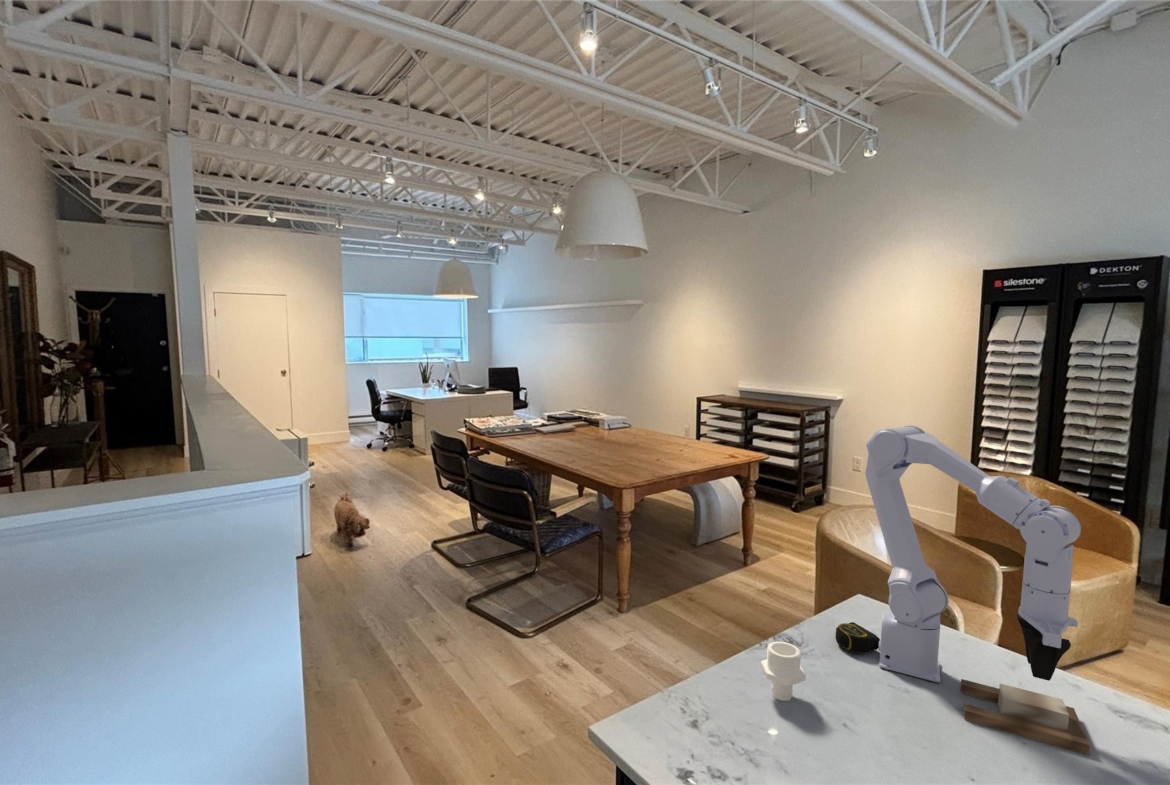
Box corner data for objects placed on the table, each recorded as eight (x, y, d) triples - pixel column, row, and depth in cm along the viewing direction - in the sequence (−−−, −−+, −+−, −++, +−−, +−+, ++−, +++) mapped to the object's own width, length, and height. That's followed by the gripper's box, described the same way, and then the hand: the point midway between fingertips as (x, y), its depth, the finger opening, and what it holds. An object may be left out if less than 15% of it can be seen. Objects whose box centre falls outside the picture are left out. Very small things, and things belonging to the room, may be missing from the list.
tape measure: (881, 654, 109) (883, 635, 108) (853, 660, 106) (854, 640, 106) (854, 637, 115) (855, 619, 115) (827, 642, 113) (828, 623, 113)
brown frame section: (964, 719, 90) (965, 710, 89) (960, 687, 98) (961, 678, 98) (1089, 755, 82) (1090, 745, 82) (1072, 716, 91) (1073, 708, 90)
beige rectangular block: (1001, 721, 89) (1003, 697, 89) (997, 706, 93) (999, 683, 93) (1066, 740, 85) (1069, 715, 85) (1060, 723, 89) (1062, 699, 89)
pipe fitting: (751, 690, 96) (753, 645, 95) (782, 679, 99) (784, 635, 99) (780, 712, 90) (782, 664, 90) (812, 700, 94) (814, 653, 93)
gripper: (1092, 611, 79) (1083, 704, 80) (1068, 576, 92) (1061, 657, 93) (1028, 599, 83) (1021, 688, 84) (1014, 566, 95) (1008, 644, 96)
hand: (1038, 671), depth 88 cm, fingers open, 4 cm apart
